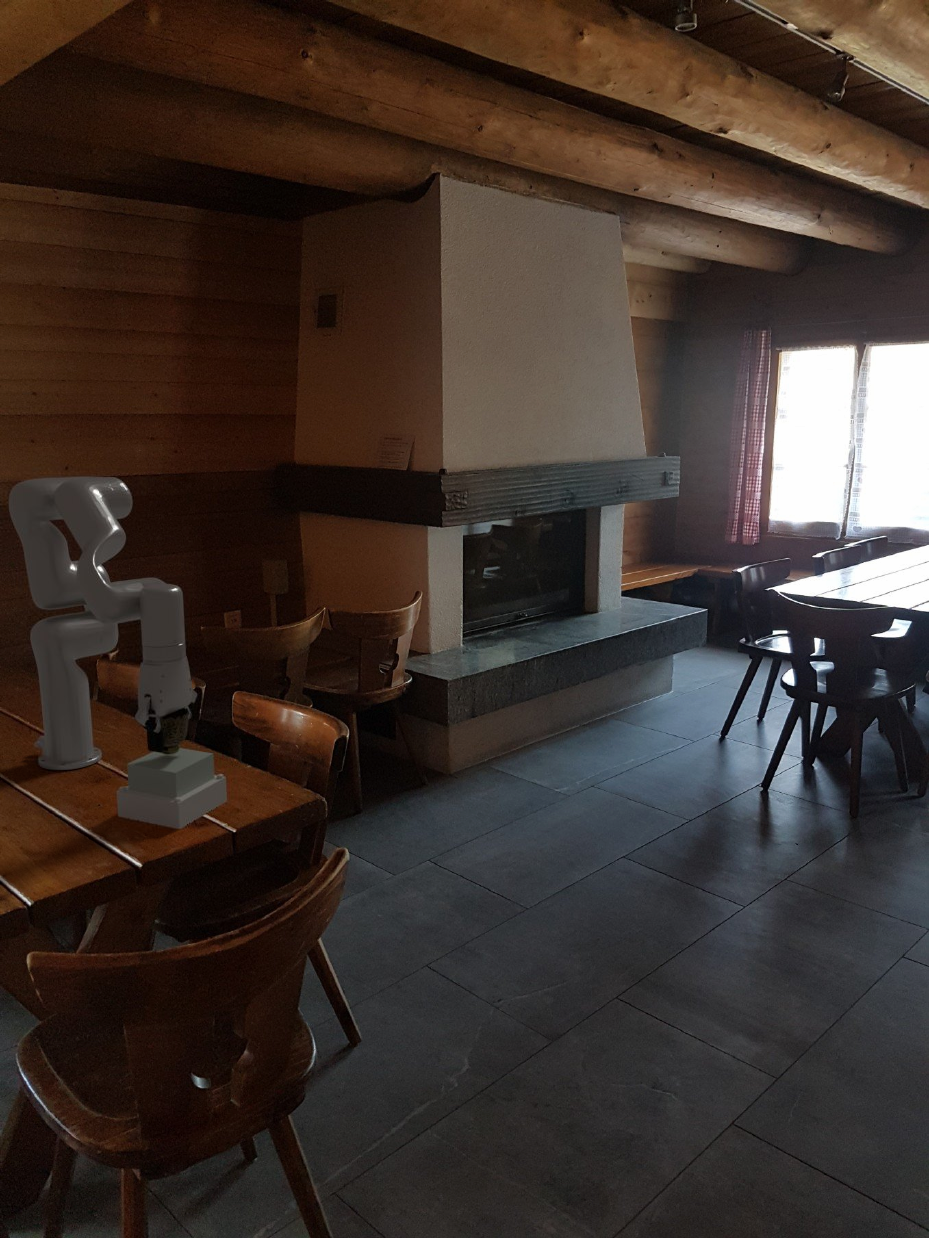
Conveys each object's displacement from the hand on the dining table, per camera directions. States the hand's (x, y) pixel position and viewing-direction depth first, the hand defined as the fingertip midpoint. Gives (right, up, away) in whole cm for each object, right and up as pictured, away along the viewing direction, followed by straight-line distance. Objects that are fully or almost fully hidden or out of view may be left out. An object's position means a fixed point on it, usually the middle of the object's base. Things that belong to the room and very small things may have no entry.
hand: (169, 744), depth 182 cm
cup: (0, -2, 0) cm, 2 cm away
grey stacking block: (0, -13, +3) cm, 13 cm away
